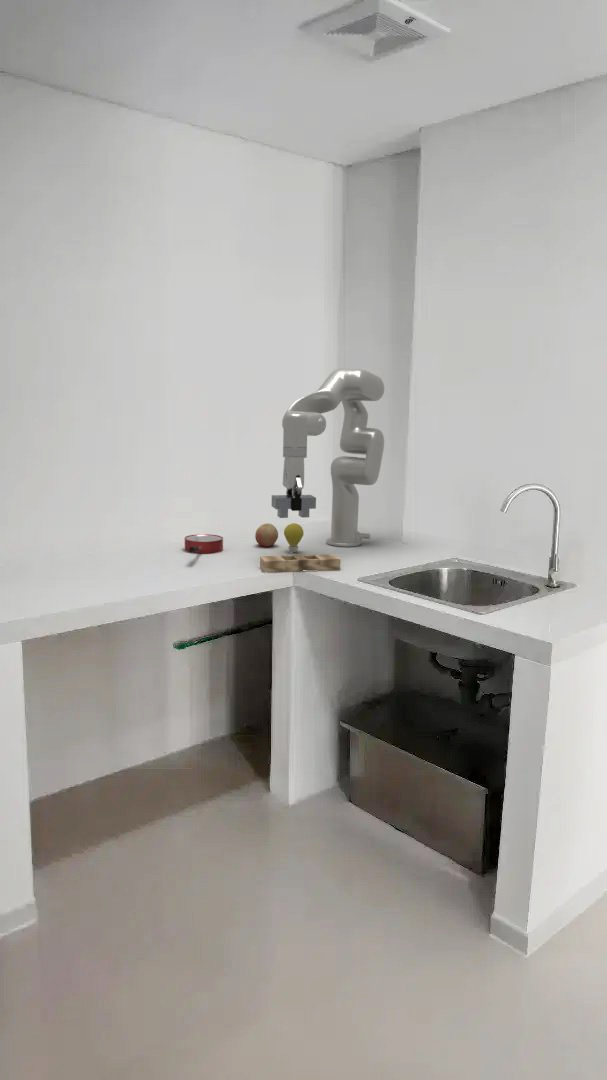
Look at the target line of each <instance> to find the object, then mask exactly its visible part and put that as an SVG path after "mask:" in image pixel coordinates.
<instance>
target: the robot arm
mask: <svg viewBox="0 0 607 1080" xmlns="http://www.w3.org/2000/svg"><path fill="white" fill-rule="evenodd" d="M384 393H385V384H384V381H383V379H382V378H381V377H380V376H378V375H377V374H374V373H372V372H370V371H368V370H366V369H362V368H337V369H335V370H332V372H331V373H330V374H329V375H328V377H326V379H325V380H324V381H323V383H322V384H321V385H320V386H319V388H318V389H317V390H315V391H313V392H311V393H309V394H306V395H305V396H303V397H300V398H299V399H297V400H295V401H294V402H293V403H292V404H291V405H290V406H289V407H288V409H287V410H286V412H285V413H284V415H283V417H282V422H281V425H282V429H283V436H282V437H283V439H282V441H283V442H282V443H283V444H282V445H283V446H282V458H284V460H283V461H284V462H283V471H282V486H283V487H284V488H286V493H285V495H292V497H293V498H291V509H290V510H291V511H292V512H299V511H301V507H302V495H303V492H302V491H303V489H304V488H305V459H306V458H308V456H307V454H308V436H309V437H310V436H311V437H318V436H319V435H322V434H323V433H324V431H326V427H327V420H326V417H325V416H324V415H323V414H325V413H328V412H331V411H334V410H336V409H337V408H338V406H339V405H340V403H342V406H343V411H344V418H343V423H342V429H341V433H340V441H339V447H340V450H341V451H342V452H343V453H346V454H351V455H363V456H365V457H357V456H346V455H344V456H339V457H338V456H337V457H335V458H334V459H333V460H332V462H331V463H330V477H331V483H332V498H331V499H332V500H331V504H332V505H331V525H330V527H331V528H330V529H331V531H330V538H329V537H328V538H327V539H326V544H327V545H330V546H335V547H343V548H344V547H345V548H346V547H348V548H349V547H358V546H361V545H362V539H368V540H369V539H371V534H370V532H369V533H365V532H360V531H358V527H359V526H358V525H359V524H358V522H359V506H360V505H359V504H360V503H359V502H360V496H359V492H358V489H357V487H356V485H359V486H361V485H362V486H372V485H375V483H376V482H377V481H378V479H379V475H380V471H381V465H382V460H383V454H384V448H385V437H384V433H383V432H382V431H381V430H380V429H378V428H375V427H368V420H369V413H368V411H367V409H366V407H365V405H364V403H363V402H364V401H365V402H377V401H380V399H382V397H383V395H384ZM362 401H363V402H362Z"/></svg>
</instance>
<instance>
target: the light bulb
mask: <svg viewBox="0 0 607 1080" xmlns="http://www.w3.org/2000/svg"><path fill="white" fill-rule="evenodd" d="M283 535H284V537H285V540H286V542H287V543H288V550H289V553H290V552H296V553H297V552H298V549H299V546H298V545H299V544H300V542H301V540H302V538H303V537H304V529H303V527H302V526H301V525H300V524H298V523H293V522H292V523H289V524H287V525H286V527H285V528H284V531H283Z"/></svg>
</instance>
